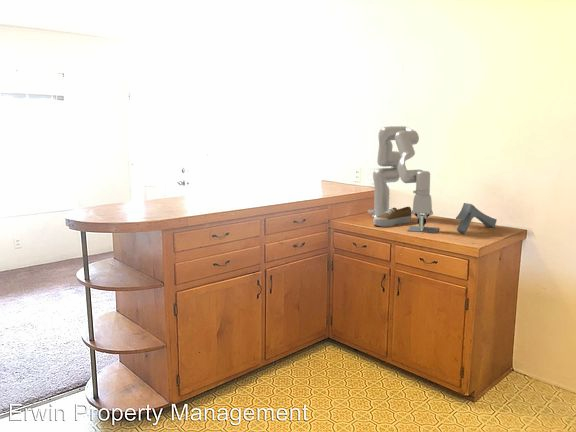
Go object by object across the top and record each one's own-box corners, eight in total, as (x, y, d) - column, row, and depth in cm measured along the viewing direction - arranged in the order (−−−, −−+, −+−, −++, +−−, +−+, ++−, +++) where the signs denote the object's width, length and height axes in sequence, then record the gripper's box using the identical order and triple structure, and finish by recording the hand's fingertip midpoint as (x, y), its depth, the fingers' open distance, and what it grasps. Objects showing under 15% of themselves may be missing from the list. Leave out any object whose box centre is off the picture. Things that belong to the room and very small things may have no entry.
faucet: (478, 244, 285) (450, 228, 268) (487, 217, 287) (460, 200, 269) (488, 246, 280) (460, 230, 263) (497, 218, 282) (470, 201, 264)
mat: (407, 231, 277) (407, 230, 277) (410, 226, 289) (410, 225, 289) (437, 232, 271) (437, 232, 271) (438, 228, 283) (438, 227, 283)
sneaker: (368, 225, 295) (368, 209, 294) (403, 219, 310) (404, 204, 308) (379, 228, 287) (380, 211, 285) (415, 222, 302) (416, 206, 300)
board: (418, 231, 275) (419, 217, 273) (421, 226, 286) (421, 213, 284) (422, 231, 274) (422, 217, 273) (424, 226, 285) (424, 213, 284)
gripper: (407, 193, 276) (406, 225, 279) (436, 194, 270) (435, 227, 273) (409, 191, 282) (408, 223, 286) (437, 192, 277) (436, 224, 280)
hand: (421, 224), depth 279 cm, fingers closed on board, 1 cm apart
